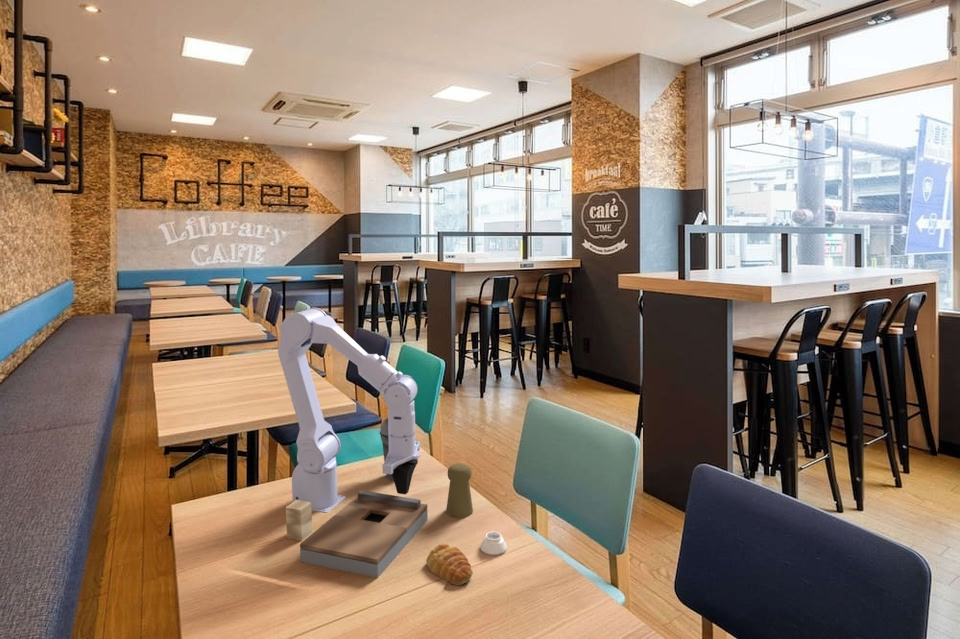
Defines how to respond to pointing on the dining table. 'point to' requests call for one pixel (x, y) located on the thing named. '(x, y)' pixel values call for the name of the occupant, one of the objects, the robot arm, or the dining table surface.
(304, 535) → the block
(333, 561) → the shallow grey box
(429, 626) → the dining table surface
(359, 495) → the lid
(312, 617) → the dining table surface
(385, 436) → the beverage cup
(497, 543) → the white upturned bowl
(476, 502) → the dining table surface
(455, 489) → the olive pawn figure
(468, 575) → the pastry
